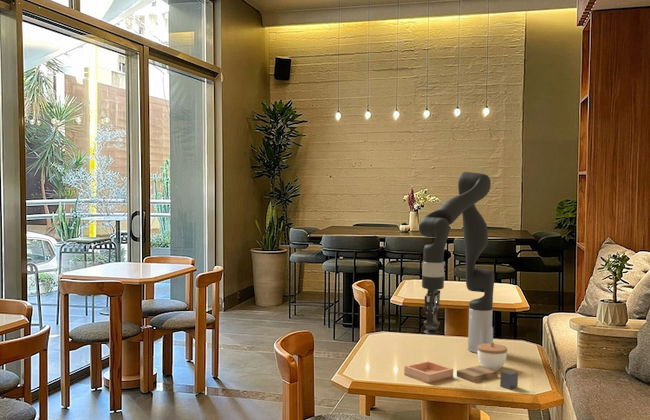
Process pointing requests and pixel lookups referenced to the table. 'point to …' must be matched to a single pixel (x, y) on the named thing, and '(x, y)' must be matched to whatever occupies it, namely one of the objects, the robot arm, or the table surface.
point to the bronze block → (477, 373)
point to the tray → (428, 371)
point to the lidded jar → (492, 355)
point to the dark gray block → (509, 379)
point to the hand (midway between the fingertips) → (431, 322)
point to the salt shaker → (434, 326)
